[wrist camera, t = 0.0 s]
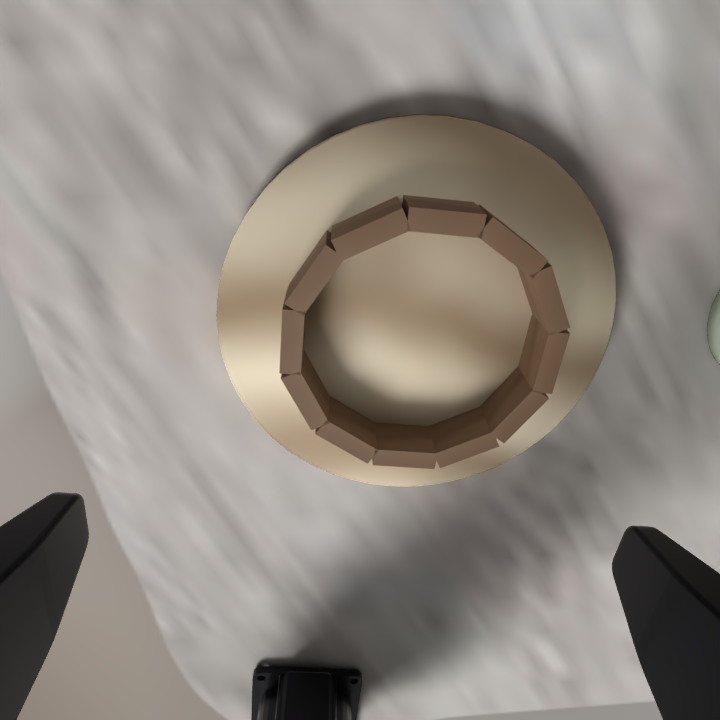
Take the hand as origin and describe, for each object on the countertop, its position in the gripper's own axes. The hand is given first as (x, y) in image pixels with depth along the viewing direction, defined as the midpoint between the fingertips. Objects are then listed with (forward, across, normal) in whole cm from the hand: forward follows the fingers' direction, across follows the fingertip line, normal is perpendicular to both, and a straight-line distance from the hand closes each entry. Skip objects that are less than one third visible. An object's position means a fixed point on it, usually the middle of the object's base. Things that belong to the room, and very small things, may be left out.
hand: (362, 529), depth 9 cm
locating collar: (+15, -3, +2) cm, 15 cm away
